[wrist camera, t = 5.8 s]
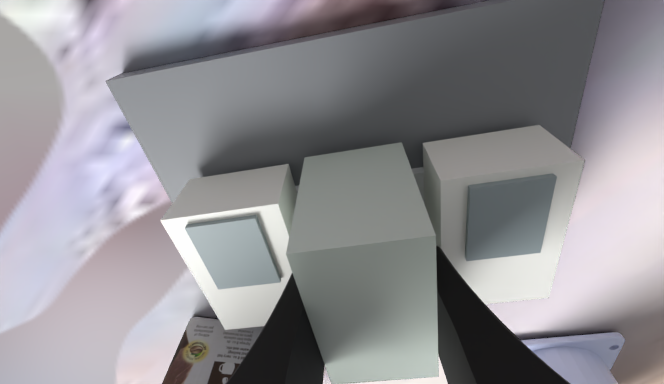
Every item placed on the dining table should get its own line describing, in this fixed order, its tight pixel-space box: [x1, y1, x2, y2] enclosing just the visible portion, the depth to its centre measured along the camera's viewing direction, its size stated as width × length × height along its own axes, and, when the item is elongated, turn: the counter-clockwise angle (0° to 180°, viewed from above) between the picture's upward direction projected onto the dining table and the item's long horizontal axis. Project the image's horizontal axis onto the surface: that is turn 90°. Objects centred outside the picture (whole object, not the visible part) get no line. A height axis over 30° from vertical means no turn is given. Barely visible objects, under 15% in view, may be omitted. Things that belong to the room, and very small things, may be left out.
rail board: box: [106, 0, 604, 330], centre depth 13 cm, size 14×16×4 cm
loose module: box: [286, 142, 439, 384], centre depth 11 cm, size 6×4×5 cm, turn 10°
